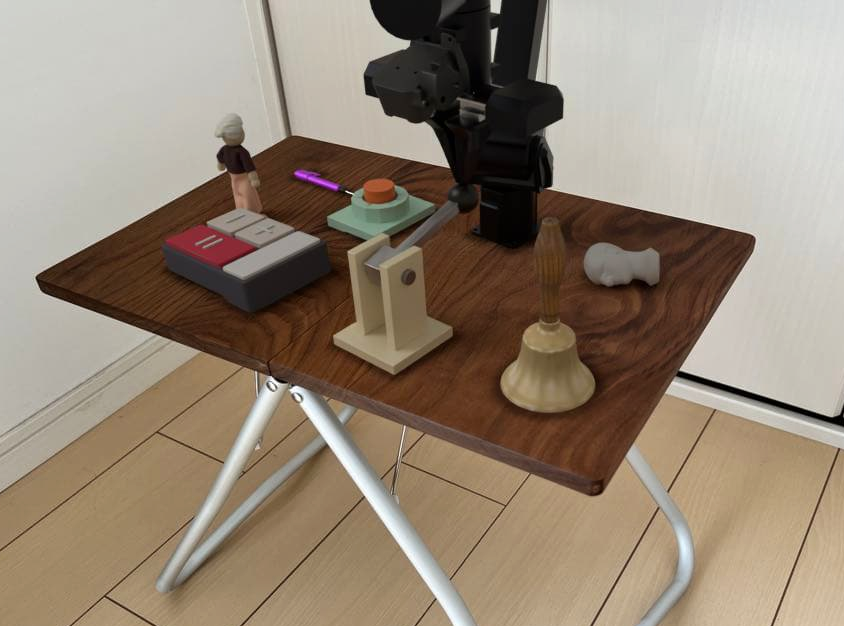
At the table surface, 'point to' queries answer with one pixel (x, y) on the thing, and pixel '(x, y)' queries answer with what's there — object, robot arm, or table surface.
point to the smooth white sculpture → (621, 265)
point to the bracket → (390, 310)
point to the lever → (427, 227)
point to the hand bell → (548, 340)
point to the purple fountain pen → (319, 181)
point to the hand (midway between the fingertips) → (462, 182)
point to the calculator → (247, 258)
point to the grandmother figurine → (238, 163)
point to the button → (379, 191)
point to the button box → (380, 215)
